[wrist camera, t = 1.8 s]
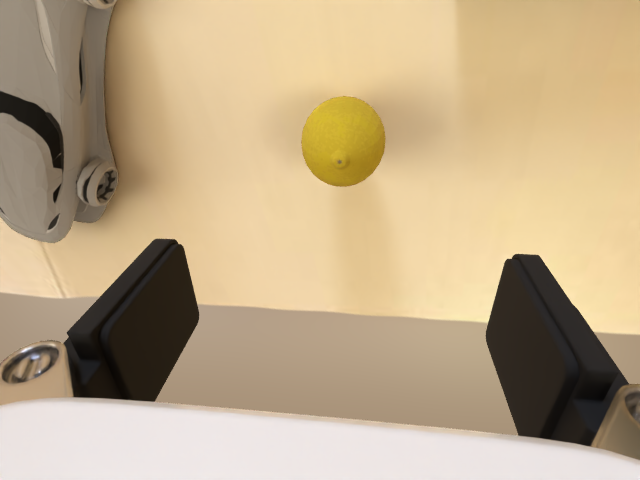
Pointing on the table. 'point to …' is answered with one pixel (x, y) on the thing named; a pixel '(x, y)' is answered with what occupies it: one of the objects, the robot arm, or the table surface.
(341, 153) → the lemon
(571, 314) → the robot arm
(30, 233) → the car model
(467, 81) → the table surface
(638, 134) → the table surface
